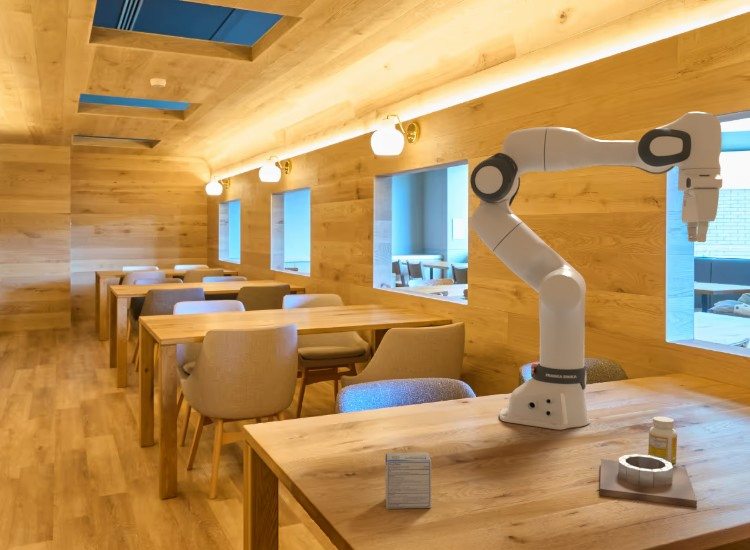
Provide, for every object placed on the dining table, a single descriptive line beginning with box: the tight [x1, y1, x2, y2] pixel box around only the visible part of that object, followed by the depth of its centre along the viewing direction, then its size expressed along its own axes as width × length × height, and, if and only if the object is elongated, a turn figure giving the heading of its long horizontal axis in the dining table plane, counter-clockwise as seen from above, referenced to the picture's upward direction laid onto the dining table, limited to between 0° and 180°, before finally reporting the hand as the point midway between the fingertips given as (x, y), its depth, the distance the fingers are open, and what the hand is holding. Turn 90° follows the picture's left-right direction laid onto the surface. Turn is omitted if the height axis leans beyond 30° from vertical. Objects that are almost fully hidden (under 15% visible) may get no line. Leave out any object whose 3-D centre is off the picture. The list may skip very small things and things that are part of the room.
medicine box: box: [384, 452, 432, 510], centre depth 116 cm, size 8×4×9 cm, turn 92°
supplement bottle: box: [647, 416, 678, 467], centre depth 137 cm, size 5×5×10 cm
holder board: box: [599, 453, 698, 508], centre depth 126 cm, size 16×17×4 cm
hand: (696, 241), depth 155 cm, fingers open, 8 cm apart
